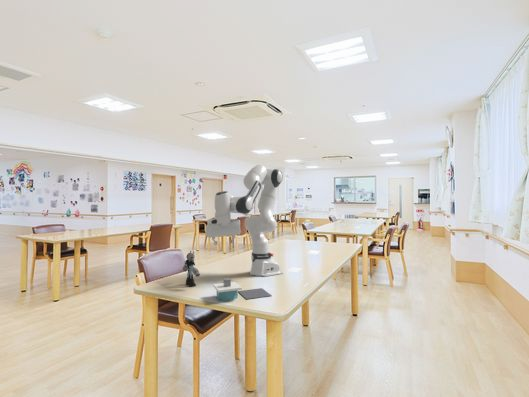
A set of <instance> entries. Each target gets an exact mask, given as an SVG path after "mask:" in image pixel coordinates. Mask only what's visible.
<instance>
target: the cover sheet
mask: <svg viewBox="0 0 529 397" xmlns="http://www.w3.org/2000/svg"><path fill="white" fill-rule="evenodd" d="M212 287H213V288H214V289H215V290H216V292H217V291H218V293H219V292H227V291H235V290H238V291H243V288H242V286H240V284H238V283H237V281H232V280H231V278H229V277H227V278H226V277H225V278H223V282H222V283H221V282H220V283H213V284H212Z"/></svg>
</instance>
